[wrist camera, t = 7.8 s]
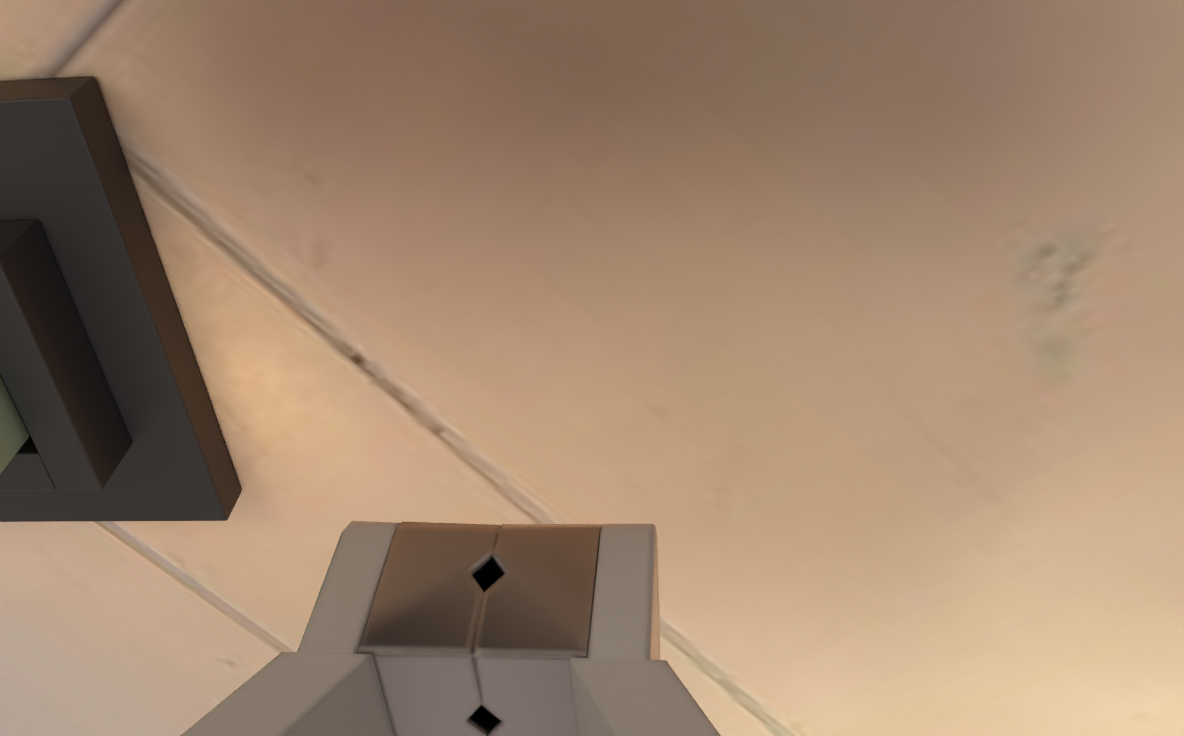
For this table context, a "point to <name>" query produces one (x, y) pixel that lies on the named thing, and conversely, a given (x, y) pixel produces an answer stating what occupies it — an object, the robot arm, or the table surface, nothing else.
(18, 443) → the key
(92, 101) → the dark grey stepped base
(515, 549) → the robot arm
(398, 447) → the table surface
